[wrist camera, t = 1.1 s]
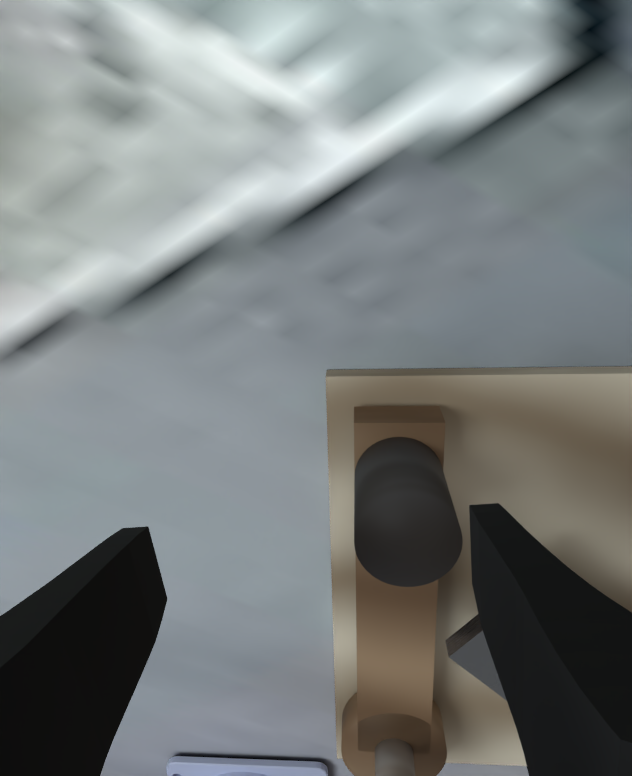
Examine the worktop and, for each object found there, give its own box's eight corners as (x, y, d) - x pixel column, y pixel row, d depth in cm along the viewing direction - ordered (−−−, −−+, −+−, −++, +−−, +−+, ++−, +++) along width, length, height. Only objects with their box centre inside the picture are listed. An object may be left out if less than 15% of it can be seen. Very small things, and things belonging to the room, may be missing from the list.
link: (440, 758, 26) (460, 896, 21) (342, 754, 26) (339, 889, 21) (459, 405, 20) (493, 479, 15) (334, 406, 20) (327, 479, 15)
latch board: (637, 754, 26) (645, 770, 26) (337, 743, 28) (336, 758, 27) (722, 365, 20) (736, 372, 19) (326, 369, 21) (325, 376, 20)
